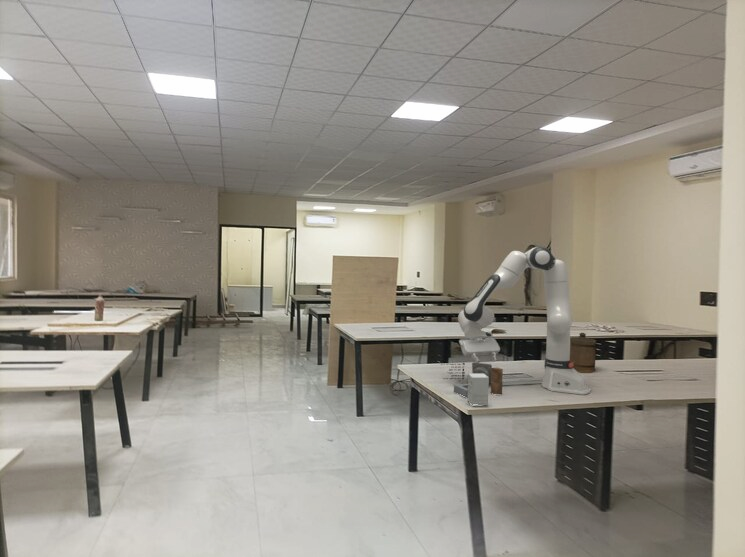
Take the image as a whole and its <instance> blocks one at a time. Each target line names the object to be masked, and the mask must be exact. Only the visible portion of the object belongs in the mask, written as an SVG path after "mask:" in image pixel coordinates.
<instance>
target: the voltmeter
mask: <svg viewBox="0 0 745 557" xmlns="http://www.w3.org/2000/svg"><path fill="white" fill-rule="evenodd" d="M443 365H444V366H445V365H446V366H447V365H452V366H451V367H450V368H451V369H448V371H451V372H449V374H450V375H451V374H452V375H451V377H450V378H449V377H445V378H443V380H453V379H454V380H458V382H461V380H465V372H464V371H465V369H464V366H465V363H464V362H463V363H458V362H457V363H455V364H454V363H440V366H443ZM453 365H454V366H453ZM456 365H458V366H456ZM460 365H463V366H460ZM452 368H453V369H452ZM455 368H456V369H455ZM457 368H459V369H457ZM460 368H462V370H461V369H460ZM492 368H493V366H492V364H489V363H481V362H479V363H476V361H475V362H472V363H471V369H472V373H474V374H485V375H486V376H488V377H489V384H491V374H492ZM452 371H457V372H454V374H453V372H452ZM459 371H462V372H459ZM459 374H461V377H460V375H459ZM453 377H455V378H453Z"/></svg>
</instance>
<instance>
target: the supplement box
mask: <svg viewBox="0 0 745 557" xmlns="http://www.w3.org/2000/svg"><path fill="white" fill-rule="evenodd" d="M467 384H468V398H467V402H468V401H469V402H470V403H471V404H472V405H473V404H478V405H488V406H489V388H490V387H489V386H490V385H489V384H490V383H489V377H488V376H486V375H485V374H474V373H468V375H467ZM469 402H468V403H469Z"/></svg>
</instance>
